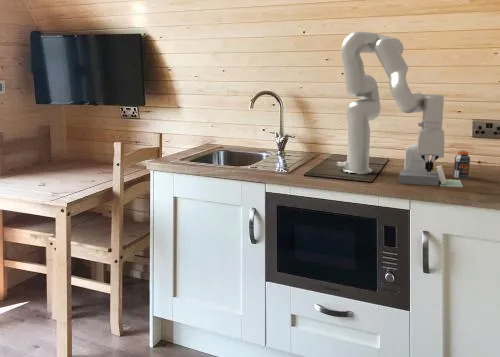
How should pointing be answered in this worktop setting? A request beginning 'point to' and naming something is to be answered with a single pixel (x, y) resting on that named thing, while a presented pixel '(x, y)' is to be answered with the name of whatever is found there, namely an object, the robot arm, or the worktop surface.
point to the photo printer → (413, 159)
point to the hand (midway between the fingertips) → (428, 171)
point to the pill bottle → (461, 165)
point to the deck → (418, 177)
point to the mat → (451, 183)
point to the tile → (441, 174)
